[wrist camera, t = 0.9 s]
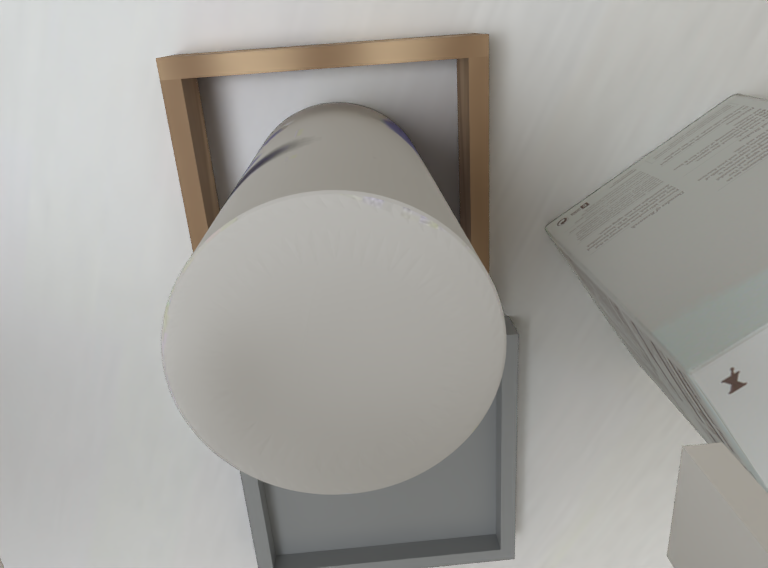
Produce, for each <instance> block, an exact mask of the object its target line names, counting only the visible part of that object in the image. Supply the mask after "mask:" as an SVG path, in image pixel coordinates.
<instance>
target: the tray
mask: <svg viewBox="0 0 768 568" xmlns="http://www.w3.org/2000/svg"><path fill="white" fill-rule="evenodd" d="M504 319H505V325H506V341H507V343H506V358H505V365H504V370H503V374H502V378H501V382H500V385H499V388H498V390H497V393H496V395H495V398H494V400H493V402H492V404H491V406H490V408H489V410H488V411H487V413H486V415H485V416H484V418H483V419H482V421H481V422H480V424H479V425H478V426H477V428H476V429H475V430H474V431H473V433H472V434H471V435H470V436H469V437H468V438H467V439H466V440H465V441H464V442H463V443H462V444H461V445H460V446H459V447H458V448H457V449H456V450H455V451H454V452H453V453H451V454H450V455H449V456H448V457H446V458H445V459H444V460H442V461H441V462H439V463H438V464H436V465H435V466H433V467H432V468H430V469H428V470H427V471H425V472H423V473H421V474H419V475H417V476H415V477H413V478H411V479H408V480H406V481H403V482H401V483H398V484H395V485H392V486H389V487H385V488H382V489H378V490H373V491H368V492H362V493H355V494H340V495H325V494H312V493H304V492H298V491H293V490H289V489H285V488H281V487H277V486H274V485H271V484H268V483H266V482H263V481H260V480H258V479H256V478H254V477H251V476H249V475H247V474H245V473H244V472H242V471H240V474H241V480H242V485H243V490H244V495H245V501H246V506H247V511H248V516H249V522H250V527H251V532H252V538H253V543H254V548H255V553H256V559H257V564H258V568H429V567H439V566H449V565H459V564H469V563H479V562H489V561H500V560H510V559H515V506H516V451H517V397H518V343H519V334H518V332H517V330H516V329H515V327H514V325H513V323H512V322H511V320H510V318H509V316H507V317H504Z"/></svg>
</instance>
